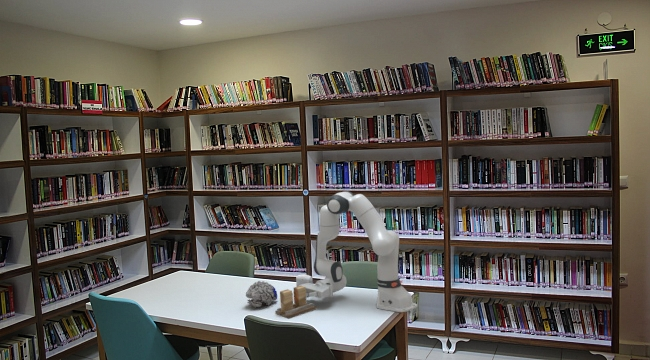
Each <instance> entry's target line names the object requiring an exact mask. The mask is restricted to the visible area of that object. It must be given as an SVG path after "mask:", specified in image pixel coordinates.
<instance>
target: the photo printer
mask: <svg viewBox="0 0 650 360" xmlns="http://www.w3.org/2000/svg"><path fill="white" fill-rule="evenodd" d="M295 277H296V278H295V280H296V281H295V282H296V286H295V287H297V286H299V285H302V284H306V283H311V284H314V281H313V280H314V279H313V276H311V275H309V274H304V273H303V274H297V275H296V276H295ZM306 297H309V296H308V294H306Z"/></svg>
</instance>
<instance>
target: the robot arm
mask: <svg viewBox="0 0 650 360" xmlns="http://www.w3.org/2000/svg"><path fill="white" fill-rule="evenodd" d="M348 211H349V212H351V213H352V214H354V216H355V217H356V219H357V221H358V223H360V225H361V226H362V228H363V230H364V231H365V234H366V235H367V237H368V239H369V241H370V243H371V247H372V251H373V252H374V253H375V255H377V256H378V257H377V264H376V267H377V269H376V270H377V278H376V280H377V281H376V286H377V297H376V303H375V305H376V309H379V310H386V311H391V312H397V313H405V312H410V311H412V310H415V309H417V307H418V304H417V303H415V302H413V296H412V294H411V293H410V292H408V290H406V288H405V287H404V286H402V284H403V283H404V282H403V280H400V277H399V252H400V251H399V250H400V236H399V234H398V233H397V232H396V231H394V230H387V228H386V227H385V224H384V221H383V218H382V216H381V215H380V214H379V212H378V211H377V209H376V208H375V207H374V205H373V204H372V203H371V201H370V200H369V199H368V198H367V197H366V196H365V195H364V194H362V193H357V194H354V193H353V192H351V191H349V190H348V191H347V190H345V191H344V190H343V191H342V192H341V191H340V192H337V193H335V194H333V195H331V196H330V197H329V198H328V200H327V201H326V204H325V205H323V206H321V208H320V211H319V230H318V233H317V235H316V241H315V258H314V263H313V271H314V273H315V274H316V275H317V276H322V277H325V278H323V279H320V280H316V282H315V283H313V284H311V283H306V284H302V285H299V286H305V288H306V294H308V296H307V297H309V298H312V297H318V298H322V299H323V298H328V297H333V296H334V293H337V292H339V291H341V290H343V289H344V288H345V287H346V285H347V283H348V282H347V277H346V276H345V275H344V272H343V270H344V269H343V266H342V263H340V262H339V261H335V260H332V259H328V258H327V244H328V243H329V242H330V241H332V240H334V239H336V238H337V237H338V236H339V234H340V232H341V231H340V230H341V229H340V227H341V226H340V215H341V214H344V213H347V212H348Z"/></svg>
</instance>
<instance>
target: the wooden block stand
mask: <svg viewBox="0 0 650 360" xmlns="http://www.w3.org/2000/svg"><path fill="white" fill-rule="evenodd" d="M279 297H280V298H279V300H280V307H278V308H276V310H275V313H274V314H276V315H278V316H280V317H284V318H287V319H292V318H296V317H299V316H302V315H304V314H307V313H310V312H313V311H315V310H317V309H316V306H314V303H312V302H311V303H307V305H304V306H301V307H298V308H295V303H294V293H293V290H291V289H288V288H287V289H284V290H281V291H279Z"/></svg>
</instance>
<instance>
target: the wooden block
mask: <svg viewBox="0 0 650 360" xmlns="http://www.w3.org/2000/svg"><path fill="white" fill-rule="evenodd" d="M292 293H293V304H294V303H295V308H298V307H301V306H304V305H307V304H308V303H307V296H306V288H305V286H294V287H293V291H292Z"/></svg>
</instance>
